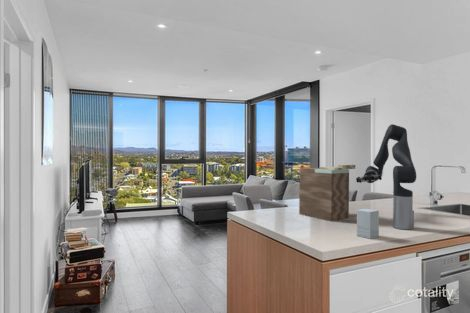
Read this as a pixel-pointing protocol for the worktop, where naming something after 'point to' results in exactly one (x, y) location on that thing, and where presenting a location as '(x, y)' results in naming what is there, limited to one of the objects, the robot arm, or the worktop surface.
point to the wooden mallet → (339, 167)
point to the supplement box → (368, 223)
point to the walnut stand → (324, 193)
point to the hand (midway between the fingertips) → (367, 180)
